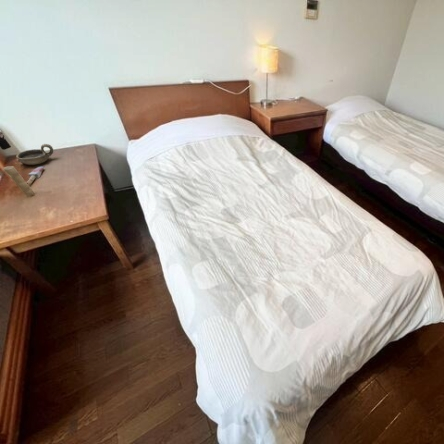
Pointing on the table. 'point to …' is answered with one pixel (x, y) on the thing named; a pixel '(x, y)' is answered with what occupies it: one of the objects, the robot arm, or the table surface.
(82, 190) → the table surface
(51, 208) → the table surface
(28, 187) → the stick
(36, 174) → the paintbrush
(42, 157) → the bowl
